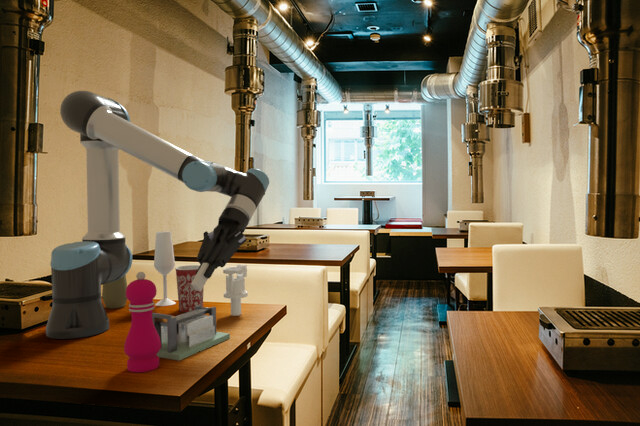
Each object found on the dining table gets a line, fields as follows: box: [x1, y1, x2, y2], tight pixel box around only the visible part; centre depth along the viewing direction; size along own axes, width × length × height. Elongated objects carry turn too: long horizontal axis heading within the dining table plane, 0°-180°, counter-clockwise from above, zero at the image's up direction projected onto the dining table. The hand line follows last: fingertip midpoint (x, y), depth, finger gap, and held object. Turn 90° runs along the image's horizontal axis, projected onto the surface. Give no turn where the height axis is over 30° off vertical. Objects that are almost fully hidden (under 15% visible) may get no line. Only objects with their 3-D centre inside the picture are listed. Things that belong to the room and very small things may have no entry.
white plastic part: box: [222, 264, 248, 317], centre depth 146 cm, size 7×7×15 cm
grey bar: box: [159, 306, 210, 327], centre depth 116 cm, size 15×3×2 cm, turn 154°
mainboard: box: [156, 331, 231, 361], centre depth 116 cm, size 18×11×1 cm, turn 154°
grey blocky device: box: [152, 305, 217, 353], centre depth 115 cm, size 16×9×8 cm, turn 154°
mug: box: [174, 264, 205, 313], centre depth 155 cm, size 13×9×14 cm
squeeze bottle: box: [101, 274, 128, 309], centre depth 159 cm, size 8×8×18 cm
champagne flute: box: [153, 230, 177, 307], centre depth 162 cm, size 7×7×24 cm
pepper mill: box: [123, 271, 161, 373], centre depth 101 cm, size 7×7×20 cm
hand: (195, 287), depth 118 cm, fingers closed
